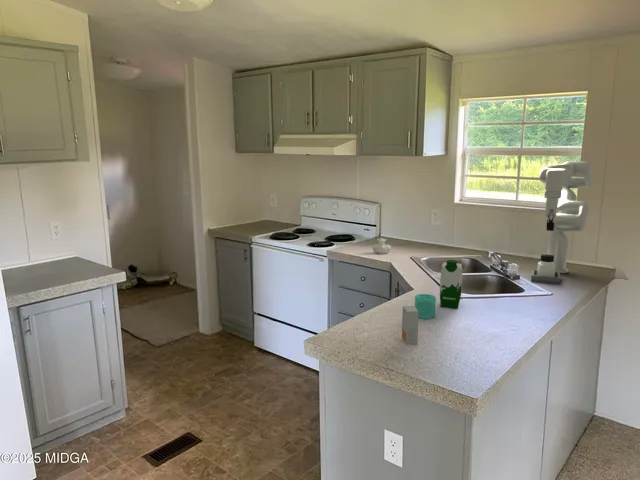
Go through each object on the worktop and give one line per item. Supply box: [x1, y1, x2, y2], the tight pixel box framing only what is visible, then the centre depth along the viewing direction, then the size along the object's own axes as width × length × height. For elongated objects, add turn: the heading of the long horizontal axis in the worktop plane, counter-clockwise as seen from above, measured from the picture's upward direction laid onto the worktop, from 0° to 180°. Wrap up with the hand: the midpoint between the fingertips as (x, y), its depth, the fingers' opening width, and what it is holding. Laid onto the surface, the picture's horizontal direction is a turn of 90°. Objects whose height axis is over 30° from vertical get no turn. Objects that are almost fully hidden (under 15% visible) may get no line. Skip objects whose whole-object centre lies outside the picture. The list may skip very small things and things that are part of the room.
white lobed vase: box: [372, 237, 392, 255], centre depth 307 cm, size 12×8×11 cm
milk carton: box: [439, 259, 463, 310], centre depth 205 cm, size 9×9×20 cm
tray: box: [530, 269, 561, 285], centre depth 247 cm, size 13×13×3 cm
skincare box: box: [401, 305, 419, 345], centre depth 168 cm, size 6×4×12 cm
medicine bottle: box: [536, 253, 556, 277], centre depth 246 cm, size 7×7×12 cm
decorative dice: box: [414, 293, 437, 320], centre depth 194 cm, size 8×8×8 cm
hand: (549, 229), depth 242 cm, fingers open, 9 cm apart
